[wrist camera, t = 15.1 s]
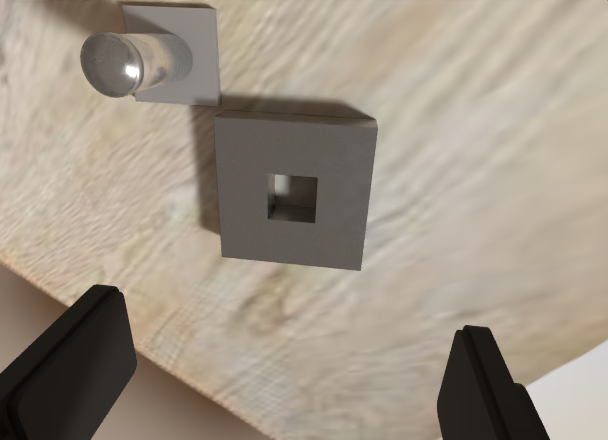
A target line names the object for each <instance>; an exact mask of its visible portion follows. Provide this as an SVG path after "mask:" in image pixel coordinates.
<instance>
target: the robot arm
mask: <svg viewBox="0 0 608 440" xmlns="http://www.w3.org/2000/svg"><path fill="white" fill-rule="evenodd" d="M136 366H137V359H136V354H135V349H134V344H133V339H132V334H131V329H130V324H129V319H128V314H127V309H126V304H125V299H124V295H123V293H122V292H119V289H118V288H117V287H115V286H108V285H99V284H96V285H93V286H92V287H91V288H90V289H89V290H87V291H86V292H85V293H84V294H83V295H82V296H81V297H80V298H79V299H78V300H77V301H76V302H75V303H74V304H73V305H72V306H71V307H70V308H69V309H68V310H67V311H65V312H64V313H63V314H62V315H61V316H60V317H59V318H58V319H57V320H56V321H55V322H54V323H53V324H52V325H51V326H50V327H49V328H48V329H47V330H46V331H44V333H42V335H40V336H39V337H38V338H37V339H36V340H35V341H34V342H33V343H32V344H31V345H30V346H29V347H28V348H27V349H26V350H25V351H24V352H22V353H21V354H20V356H19V357H17V358H16V359H15V360H14V361H13V362H12V363H11V364H10V365H9V366H8V367H7V368H6V369H5V370H4V371H3V372H2V373H1V374H0V440H91V438H92V437H93V435H94V434H95V432H96V431H97V429H98V427H99V426H100V424H101V423H102V421H103V420H104V418H105V417H106V415H107V414H108V412H109V411H110V409H111V408H112V406H113V404H114V403H115V402H116V400H117V398H118V397H119V395H120V394H121V392H122V391H123V389H124V388H125V386H126V385H127V383H128V382H129V380H130V379H131V377H132V376H133V374H134V372H135V370H136ZM437 413H438V418H439V423H440V428H441V433H442V438H443V440H550V438H549V436H548V434H547V432H546V430H545V428H544V425H543V423H542V421H541V419H540V417H539V415H538V413H537V411H536V409H535V407H534V404H533V402H532V400H531V398H530V396H529V394H528V392H527V390H526V389H525V387H524V386H523V385H522V384H519V383H514V381H513V379H512V377H511V375H510V373H509V370H508V368H507V366H506V364H505V361H504V359H503V357H502V355H501V352H500V350H499V348H498V346H497V343H496V341H495V339H494V337H493V335H492V332H491V330H490V329H489V328H488V327H480V326H471V325H465V326H464V328H463V330H457V331H456V333H455V336H454V340H453V344H452V348H451V351H450V355H449V359H448V362H447V366H446V370H445V374H444V377H443V381H442V385H441V388H440V392H439V396H438V400H437Z"/></svg>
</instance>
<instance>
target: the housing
mask: <svg viewBox="0 0 608 440" xmlns="http://www.w3.org/2000/svg"><path fill="white" fill-rule="evenodd" d="M213 120H214V136H215V152H216V169H217V185H218V201H219V218H220V234H221V251H222V257H227V258H237V259H247V260H257V261H267V262H277V263H287V264H297V265H307V266H317V267H327V268H337V269H347V270H357V271H361V263H362V255H363V247H364V239H365V230H366V222H367V214H368V206H369V197H370V189H371V181H372V173H373V164H374V156H375V148H376V140H377V131H378V126H377V121H376V119H361V118H345V117H330V116H314V115H298V114H283V113H267V112H251V111H235V110H225V111H223V112H221V113H219V114H218V115H216V116H214V117H213ZM275 174H278V175H291V176H304V177H317V178H318V183H317V201H316V208H307V207H296V206H284V205H275Z"/></svg>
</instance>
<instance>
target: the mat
mask: <svg viewBox="0 0 608 440" xmlns="http://www.w3.org/2000/svg"><path fill="white" fill-rule="evenodd" d="M122 7H123V14H124V21H125V28H126V34H174V35H177V36H179V37H180V38H182V39H183V40H184V41H185V42H186V43H187V44H188V46H189V48H190V50H191V52H192V56H193V66H192V69H191V71H190V73H189V75H188V76H187V77H185V78H184V79H182V80H179V81H175V82H172V83H168V84H164V85H160V86H156V87H153V88H149V89H145V90H141V91H137V92H135V98H136V101H141V102H156V103H172V104H188V105H204V106H220V105H221V98H220V78H219V59H218V40H217V21H216V9H208V8H182V7H157V6H131V5H122Z"/></svg>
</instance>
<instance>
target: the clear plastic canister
mask: <svg viewBox="0 0 608 440" xmlns="http://www.w3.org/2000/svg"><path fill="white" fill-rule="evenodd" d="M80 59H81V66H82V70H83V72H84V75H85V77H86V78H87V80H88V81H89V83H90V84H91V85H92V86H93V87H94V88H95V89H96V90H97V91H99V92H100V93H102V94H104V95H106V96H109V97H114V98H119V97H124V96H128V95H131V94H133V93H134V92H137V91H141V90H145V89H149V88H153V87H156V86H160V85H164V84H168V83H172V82H175V81H179V80H182V79H184V78H185V77H187V76H188V75H189V73H190V71H191V69H192V66H193V56H192V52H191V50H190V48H189V46H188V44H187V43H186V42H185V41H184V40H183V39H182V38H180V37H179V36H177V35H174V34H117V33H113V32H99V33H95V34H93V35H91V36H90V37H89V38H87V40H86V41H85V42H84V44H83V46H82V49H81V55H80Z"/></svg>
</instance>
